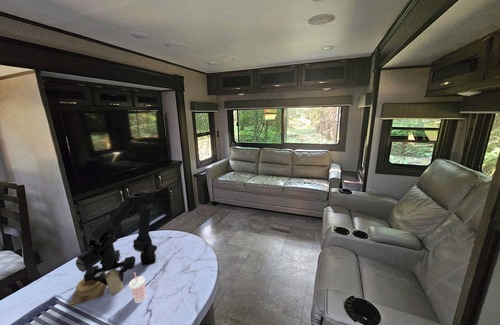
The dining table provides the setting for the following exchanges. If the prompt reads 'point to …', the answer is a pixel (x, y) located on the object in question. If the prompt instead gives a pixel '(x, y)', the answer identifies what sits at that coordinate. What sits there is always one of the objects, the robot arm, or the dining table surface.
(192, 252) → the dining table surface
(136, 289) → the beverage cup
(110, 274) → the candle
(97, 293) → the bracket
